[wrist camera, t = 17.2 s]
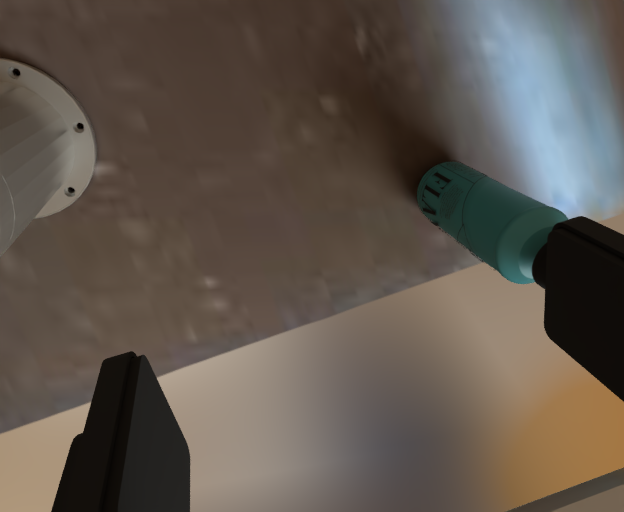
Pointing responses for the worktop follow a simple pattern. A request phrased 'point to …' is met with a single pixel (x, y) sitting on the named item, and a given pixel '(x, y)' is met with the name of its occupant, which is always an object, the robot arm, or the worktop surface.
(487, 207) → the beverage bottle
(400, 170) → the worktop surface
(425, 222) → the worktop surface
